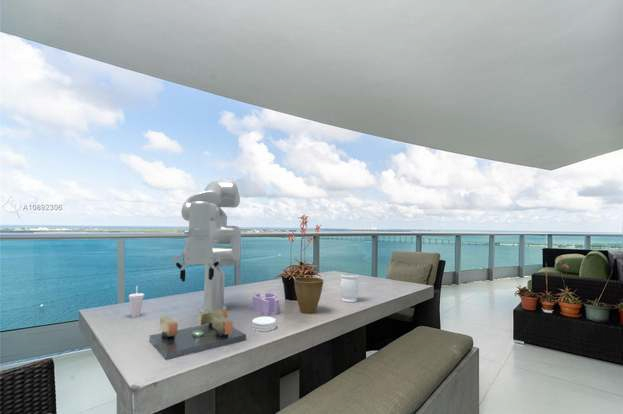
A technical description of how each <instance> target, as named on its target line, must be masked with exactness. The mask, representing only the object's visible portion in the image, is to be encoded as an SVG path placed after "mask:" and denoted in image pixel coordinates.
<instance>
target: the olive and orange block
mask: <svg viewBox="0 0 623 414" xmlns="http://www.w3.org/2000/svg"><path fill="white" fill-rule="evenodd" d="M178 325H179V323H178V322H177V321H176V320H175V319H173V318H172V317H170V316H169V315H167V316H161V317H160V318H159V329H160V330H161V331H162V332H161V333H162V337H163V338H171V337H174V336H175V335H177V330H179V329H178Z"/></svg>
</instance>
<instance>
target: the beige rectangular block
mask: <svg viewBox="0 0 623 414" xmlns="http://www.w3.org/2000/svg"><path fill="white" fill-rule="evenodd" d="M228 314H229V313H228V309H227V310H226V309H219V310H213V311H207V312H198V316H197V319H198V320H197V324H199V326H201V325H206V324H208V326H210V327H212V319H213V316H216V315H221V316H222V317H224V318H226V319H228Z"/></svg>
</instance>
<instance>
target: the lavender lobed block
mask: <svg viewBox="0 0 623 414" xmlns="http://www.w3.org/2000/svg"><path fill="white" fill-rule="evenodd" d="M260 295H261V293H259V292H254V294H253V295H252V310H253V311H254V312H260V313H261V315H263V316H265V317H270V313H272V312H273V315H274V316H277V315H278V314H279V311H280V310H279V306H280V305H279V303H280V298H278V294H277V293H272V292H270V291H266V292H265V295H264V297H263V296H262V297H261V296H260Z"/></svg>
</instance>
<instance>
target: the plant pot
mask: <svg viewBox="0 0 623 414" xmlns="http://www.w3.org/2000/svg"><path fill="white" fill-rule="evenodd" d="M293 282H294V289H295V296H296V300H297V304H298V307H299V310H300V312H301V313H303V314H313V313H315V312H316V311H317V307H318V306H319V302H320V298H321V295H322V291H323V285H324V279H323V278H320V277H312V276H299V277H298V276H297V277H295V278H294V279H293Z"/></svg>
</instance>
